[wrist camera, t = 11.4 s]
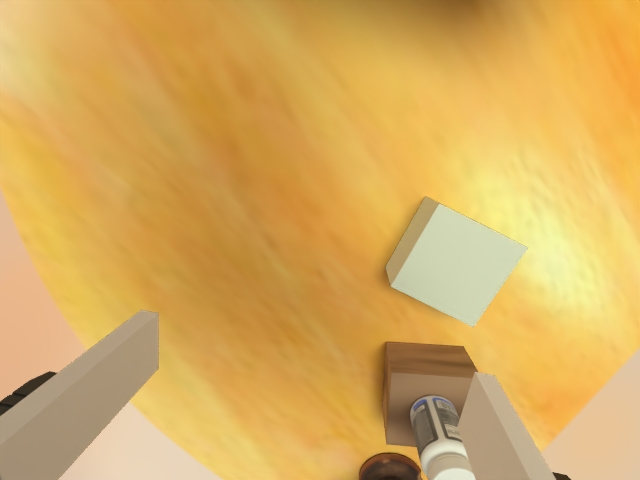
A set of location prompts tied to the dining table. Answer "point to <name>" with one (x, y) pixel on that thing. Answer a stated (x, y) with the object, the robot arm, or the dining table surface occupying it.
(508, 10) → the dining table surface
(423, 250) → the sage block
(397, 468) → the vase
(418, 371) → the walnut block
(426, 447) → the pill bottle
